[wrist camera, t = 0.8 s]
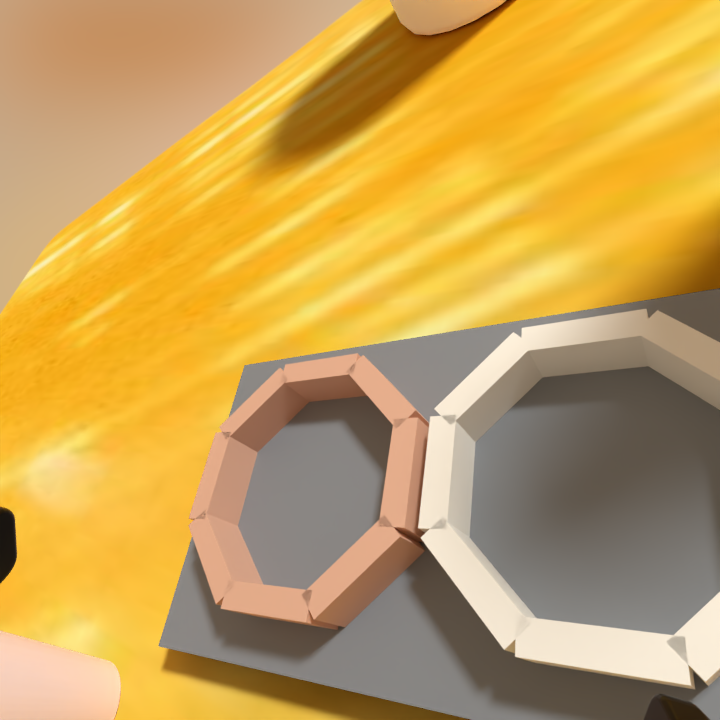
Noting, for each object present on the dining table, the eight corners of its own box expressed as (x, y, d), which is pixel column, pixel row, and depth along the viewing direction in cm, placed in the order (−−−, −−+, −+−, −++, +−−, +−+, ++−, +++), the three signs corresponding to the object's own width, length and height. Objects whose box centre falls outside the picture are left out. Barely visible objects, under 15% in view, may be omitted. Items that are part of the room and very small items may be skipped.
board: (923, 820, 12) (974, 846, 9) (184, 649, 24) (120, 641, 21) (783, 303, 18) (791, 237, 16) (261, 377, 31) (220, 347, 28)
